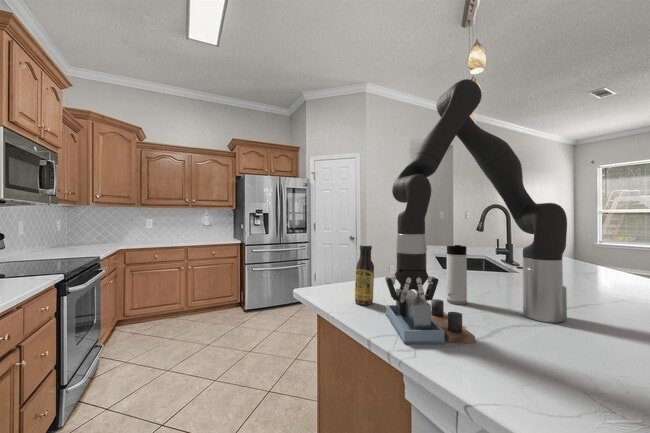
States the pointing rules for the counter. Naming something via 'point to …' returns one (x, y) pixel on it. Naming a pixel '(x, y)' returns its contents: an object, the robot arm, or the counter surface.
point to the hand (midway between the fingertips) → (411, 315)
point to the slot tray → (414, 335)
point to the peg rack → (450, 324)
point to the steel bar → (416, 311)
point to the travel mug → (456, 275)
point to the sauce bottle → (364, 277)
